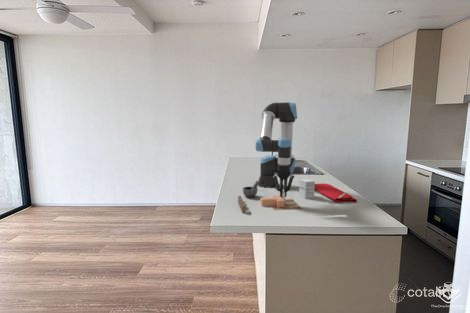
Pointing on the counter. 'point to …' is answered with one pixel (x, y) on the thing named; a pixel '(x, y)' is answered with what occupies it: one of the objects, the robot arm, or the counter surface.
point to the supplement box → (306, 188)
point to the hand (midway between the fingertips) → (283, 202)
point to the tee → (272, 201)
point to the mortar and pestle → (250, 190)
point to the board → (288, 205)
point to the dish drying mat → (334, 193)
